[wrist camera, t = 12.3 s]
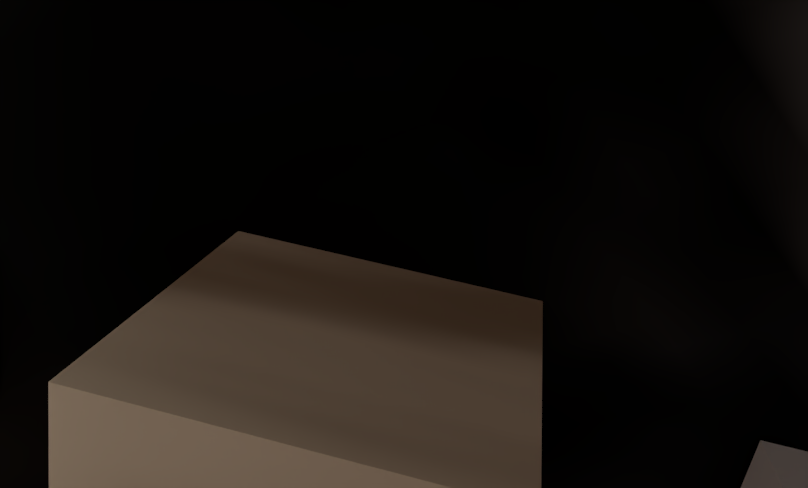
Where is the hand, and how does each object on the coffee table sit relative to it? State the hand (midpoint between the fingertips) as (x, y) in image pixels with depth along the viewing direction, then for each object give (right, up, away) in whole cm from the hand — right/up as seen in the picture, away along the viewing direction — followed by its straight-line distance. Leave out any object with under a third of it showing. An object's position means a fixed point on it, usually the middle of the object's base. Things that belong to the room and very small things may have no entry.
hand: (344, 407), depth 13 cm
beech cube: (0, 0, 0) cm, 0 cm away
